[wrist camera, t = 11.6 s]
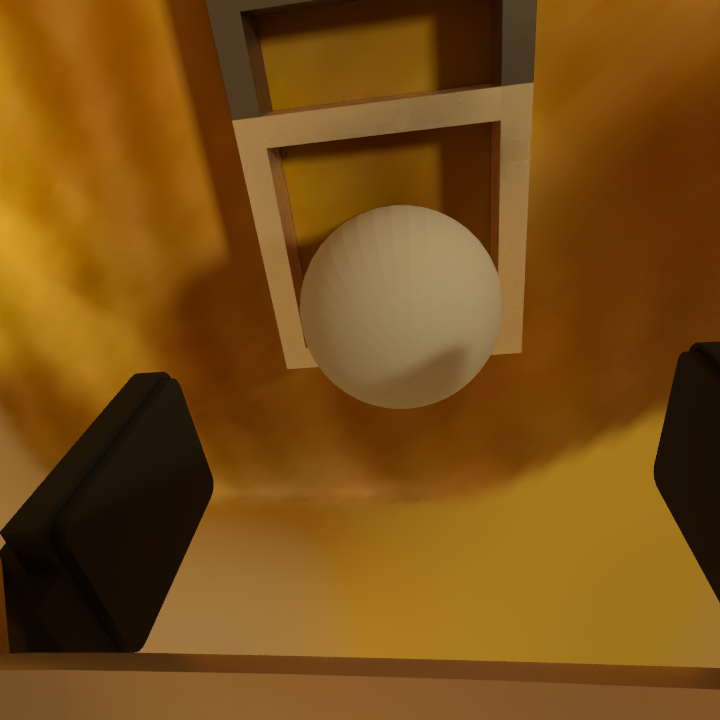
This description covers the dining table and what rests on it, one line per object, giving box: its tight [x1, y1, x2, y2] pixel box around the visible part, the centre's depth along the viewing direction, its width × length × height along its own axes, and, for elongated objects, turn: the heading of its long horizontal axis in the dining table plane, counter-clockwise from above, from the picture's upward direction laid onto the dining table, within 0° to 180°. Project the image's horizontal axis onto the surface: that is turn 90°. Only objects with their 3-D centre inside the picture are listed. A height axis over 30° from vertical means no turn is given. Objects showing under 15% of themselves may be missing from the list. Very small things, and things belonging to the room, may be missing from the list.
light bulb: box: [300, 205, 503, 409], centre depth 17 cm, size 6×6×10 cm
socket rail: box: [205, 0, 537, 369], centre depth 17 cm, size 10×23×2 cm, turn 7°
